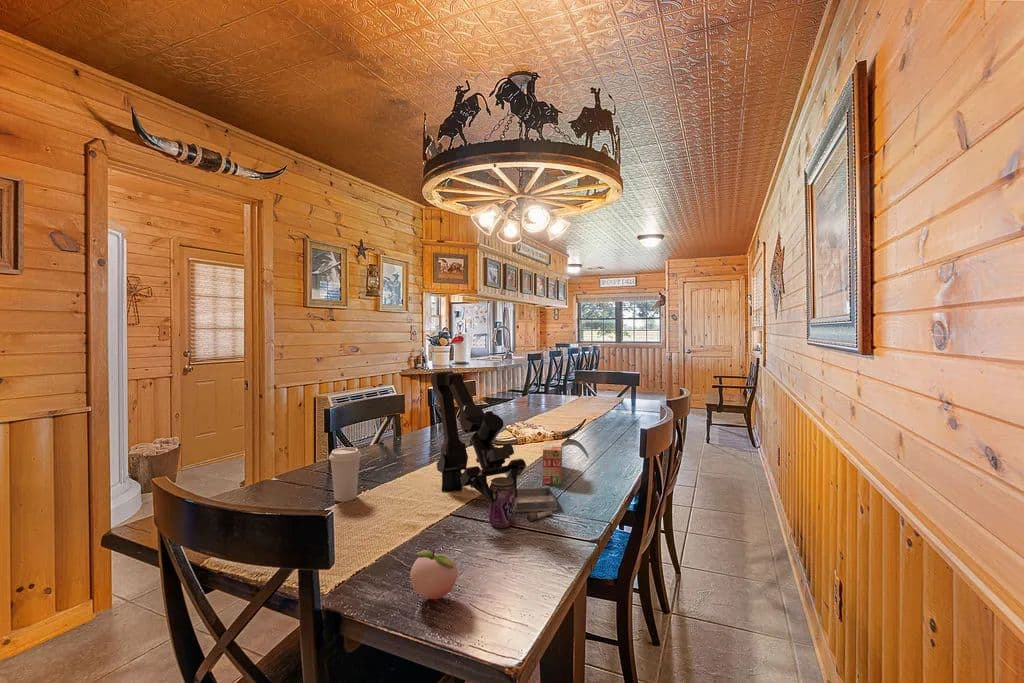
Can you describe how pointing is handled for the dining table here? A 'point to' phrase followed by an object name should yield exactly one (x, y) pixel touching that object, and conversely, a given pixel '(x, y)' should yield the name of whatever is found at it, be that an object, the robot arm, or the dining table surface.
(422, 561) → the decorative fruit
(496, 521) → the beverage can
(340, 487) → the coffee cup
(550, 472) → the stack of blocks
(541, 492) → the tray
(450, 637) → the dining table surface
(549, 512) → the pin gauge
